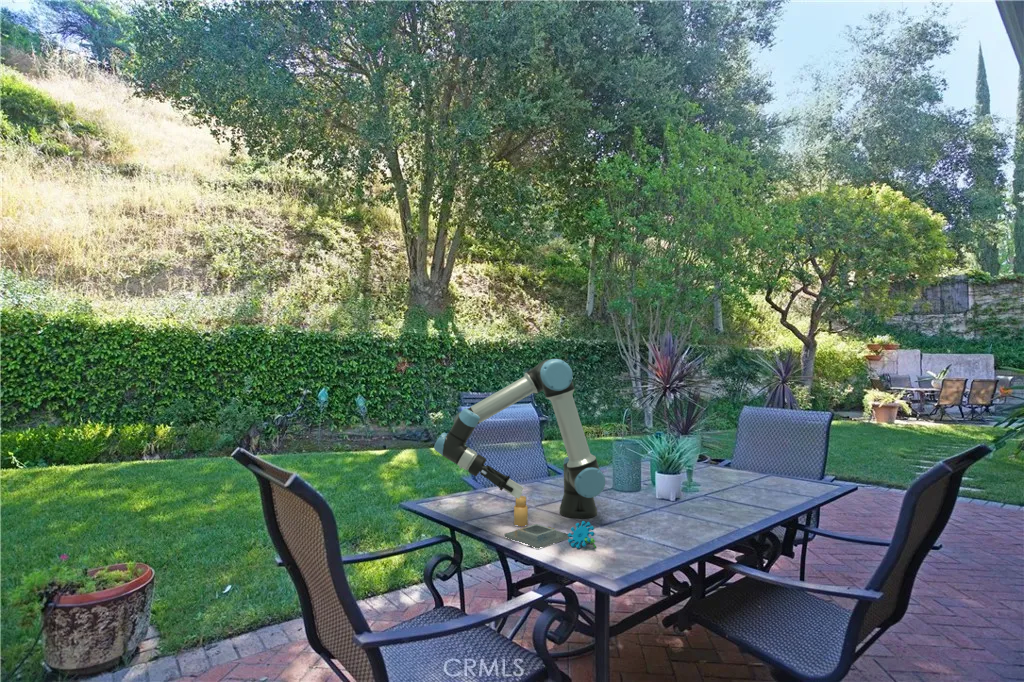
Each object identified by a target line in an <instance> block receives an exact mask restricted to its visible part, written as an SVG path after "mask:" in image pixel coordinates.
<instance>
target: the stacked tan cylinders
mask: <svg viewBox="0 0 1024 682" xmlns="http://www.w3.org/2000/svg"><path fill="white" fill-rule="evenodd" d="M528 509H529V508H528V505H527V497H526V496H525V495H521V496H520V498H519V499H518V498H516V497H515V505H513V526H514V525H518V526H525V525H528V526H529V524H528V523H529V522H528V519H529V516H528V515H529V514H528V513H529V511H528Z"/></svg>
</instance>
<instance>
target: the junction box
mask: <svg viewBox="0 0 1024 682" xmlns="http://www.w3.org/2000/svg"><path fill="white" fill-rule="evenodd" d="M568 534H569V533H566V532H563V531H559V530H557V529H555V527H551V526H544V525H541V524H538V523H535V524H532V525H528V526H526V527H520V528H517V529H516V530H512V531H509V532H505V533H504V536H505V537H507V538H509V539H512V540H515V541H519V542H522V543H525V544H528V545H530V546H533V547H535V548H540V547H543V546H546V547H548V546H547V545H549V546H551V545H550V544H552V545H554V544H553V543H555V544H557V542H558V543H560V541H561V542H563V540H564V541H566V540H568V539H570V537H568ZM504 536H503V537H504ZM543 548H544V547H543ZM540 549H541V548H540Z"/></svg>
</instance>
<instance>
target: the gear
mask: <svg viewBox="0 0 1024 682" xmlns="http://www.w3.org/2000/svg"><path fill="white" fill-rule="evenodd" d="M575 527H576V528H575ZM575 527H574V526H572V527H570V531H571V532H573V534H572V533H571V532H569V533H567V534H568V537H569V539H567V543H568V544H570V546H571V547H572V549H573V548H576V549H578V550H579V549H581V546H582V547H587V545H589V546H593V548H594V549H597V545H596V544H595V542H596V540H595V539H594V538H593V537H594V536H595V532H594V530H595V526H594V525H592V524H591V523H590V521H587V522H586V521H585V520H582V521H581V524H580V522H576V523H575ZM590 530H591V531H590ZM589 535H590V536H589Z"/></svg>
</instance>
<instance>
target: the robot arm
mask: <svg viewBox="0 0 1024 682" xmlns="http://www.w3.org/2000/svg"><path fill="white" fill-rule="evenodd" d="M573 374H574V373H573V370H572V368H571V367H570V364H568V363H567V362H565V361H564V360H562V359H560V358H550V359H545V360H542V361H541V362H540V363H538V364H537V365H535V366H534V367H533V368H530V369H529V370H528V371H526V372H525V373H524V375H523V376H522V377H521V378H519V379H517V380H515V381H514V382H511V383H510V384H508V385H507V386H505V387H503V388H502V389H500V390H498V391H496V392H494V393H493V394H491V395H489V396H487V397H485V398H484V399H482V400H480V401H478V402H477V403H475V404H473V405H471V406H470V407H467V408H463V409H462V410H461V411H459V412H458V413H456V414H455V416H454V418H453V425H452V427H451V428H450V430H449V431H448V432H447V433H446V432H442V433H441V434H440V435H439V437H438V438H437V439H436V441H435V443H434V446H433V449H434V450H435V452H437V453H439V454H440V455H441V456H442V457H444V458H446V459H447V460H449V461H451V462H452V463H454V464H455V465H457V466H459V467H458V468H459V469H461V470H462V469H463V470H465V471H467V472H468V473H469V474H471V475H473V476H474V477H477V476H479V474H480V475H481V476H483V477H484V478H485V479H487V480H488V481H489V482H491V483H492V484H493V485H494V486H497V487H498V488H499V490H500V492H501V491H503V490H504V491H505V492H507V493H509V495H511V496H513V497H514V498H515V499H516V498H518V499H519V498H520V496H522V494H523V490H524V489H525V488H524V487H523V486H522V485H521V484H519V483H518V482H516V481H514V480H512V479H511V476H510V475H506V474H504V473H501V472H500V471H498V470H497V469H495V468H493V467H492V466H490V465H485V464H486V461H487V458H485V457H484V456H482V455H481V454H478V453H477V451H475V450H474V449H472V448H471V447H468V446H466V443H467V441H468V440H469V438H470V437H471V436H472V433H473V432H474V431H475V429H476V427H477V426H478V425H479V424H481V423H482V422H483V423H484V421H486V420H488V419H490V418H491V417H493V416H495V415H497V414H499V413H500V412H503V411H504V410H506V409H507V408H509V407H511V406H512V405H515V404H516V403H517V402H520V401H522V400H524V398H527V397H528V396H530V395H532V394H539V393H541V392H542V391H543V394H544V396H545V398H546V399H547V400H549V401H550V402H551V406H552V409H553V411H554V415H555V419H556V422H557V425H558V429H559V431H560V435H561V439H562V441H563V446H564V447H565V451H566V454H567V456H566V457H564V459H563V464H562V465H563V496H562V498H561V499H562V500H561V501H560V502H561V504H560V506H559V514H560V515H561V514H562V515H561V516H563V515H564V517H566V516H567V517H568V518H572V519H588V518H593V517H595V516H597V515H598V507H597V506H596V502H595V498H596V497H598V496H599V495H600V494H601V493H603V490H604V489H605V488H606V476H605V474H604V472H602V470H600V467H599V463H598V460H597V457H596V455H594V454H592V453H591V452H590V451H591V450H590V447H589V444H588V441H587V438H586V435H585V431H584V428H583V425H582V422H581V419H580V415H579V412H578V408H577V405H576V402H575V398H574V397H573V395H574V394H573V393H574V391H575V386H574V383H573V378H574V377H573ZM567 517H566V518H567Z"/></svg>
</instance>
